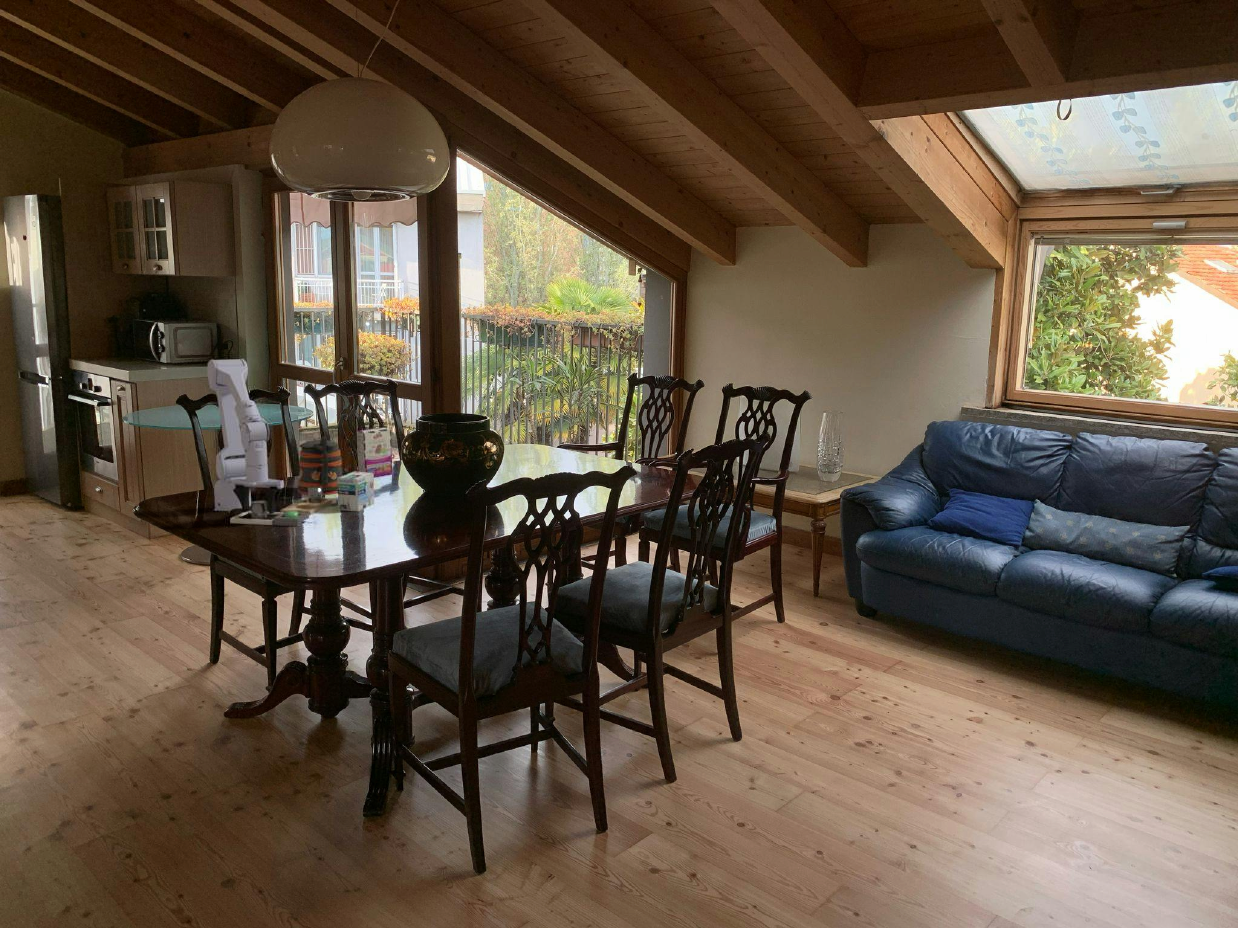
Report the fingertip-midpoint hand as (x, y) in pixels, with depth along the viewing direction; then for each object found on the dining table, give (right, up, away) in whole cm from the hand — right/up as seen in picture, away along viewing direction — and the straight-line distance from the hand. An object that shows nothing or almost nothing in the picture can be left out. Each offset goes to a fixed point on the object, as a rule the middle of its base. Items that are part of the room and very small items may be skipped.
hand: (259, 512), depth 260 cm
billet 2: (+10, +2, +17) cm, 20 cm away
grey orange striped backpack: (+7, +3, +34) cm, 35 cm away
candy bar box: (+15, +9, +66) cm, 69 cm away
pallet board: (+10, 0, +13) cm, 16 cm away
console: (+10, -3, -2) cm, 10 cm away
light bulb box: (+23, -1, +16) cm, 28 cm away
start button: (+10, -2, -2) cm, 10 cm away
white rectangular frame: (0, -3, +1) cm, 3 cm away
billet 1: (0, -2, +1) cm, 2 cm away
